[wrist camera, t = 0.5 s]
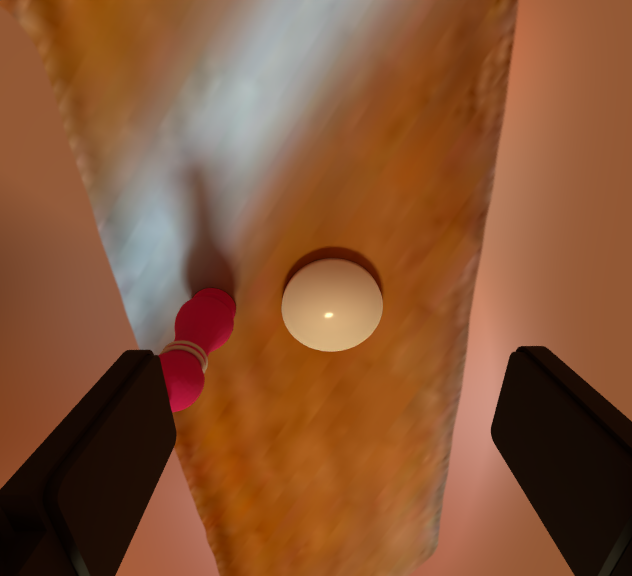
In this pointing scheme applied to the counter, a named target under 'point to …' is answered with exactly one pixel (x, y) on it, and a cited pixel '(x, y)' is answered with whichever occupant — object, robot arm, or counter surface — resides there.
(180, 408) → the pepper mill
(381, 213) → the counter surface
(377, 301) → the disc
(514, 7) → the counter surface
